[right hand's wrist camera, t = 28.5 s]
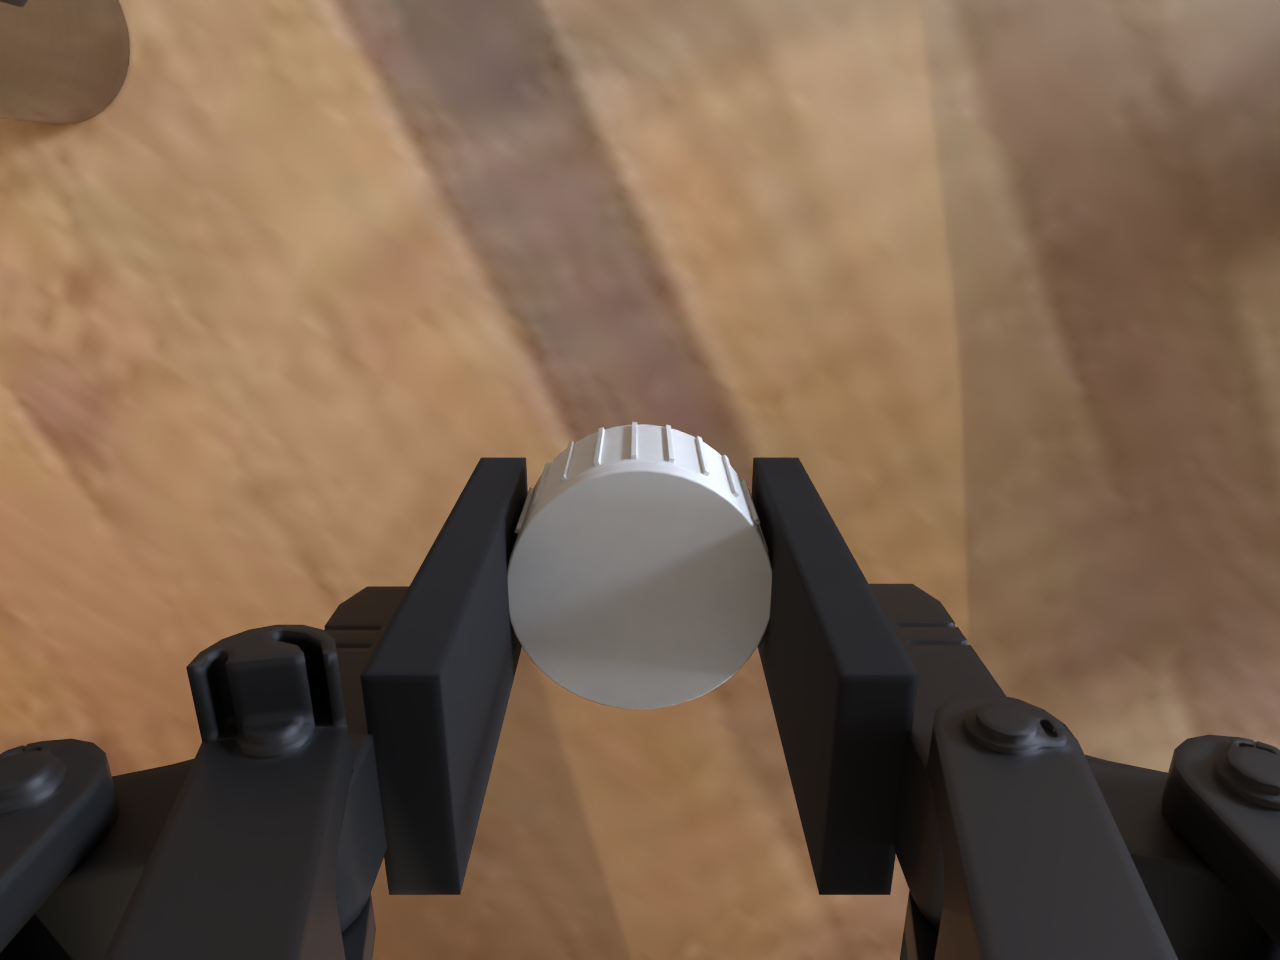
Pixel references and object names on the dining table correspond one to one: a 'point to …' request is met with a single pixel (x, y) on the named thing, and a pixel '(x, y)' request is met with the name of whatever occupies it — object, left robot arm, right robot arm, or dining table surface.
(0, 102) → the bottle
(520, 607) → the cap
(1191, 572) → the dining table surface
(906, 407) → the dining table surface
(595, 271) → the dining table surface
